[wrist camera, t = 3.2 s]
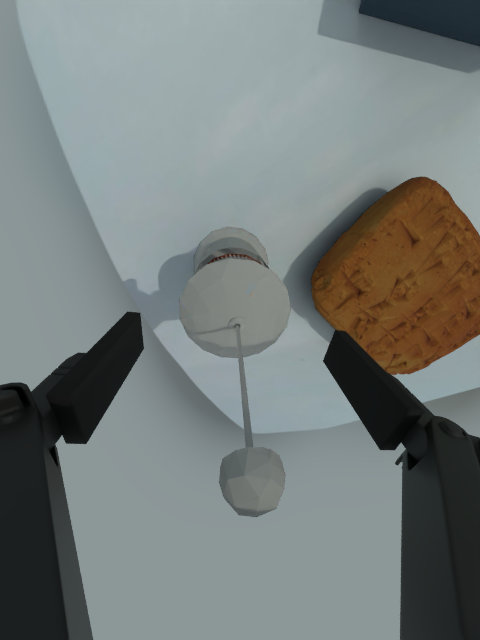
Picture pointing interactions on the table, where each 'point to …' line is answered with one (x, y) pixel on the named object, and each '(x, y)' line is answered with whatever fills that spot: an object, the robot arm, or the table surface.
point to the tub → (431, 16)
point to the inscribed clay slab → (404, 278)
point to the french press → (238, 346)
